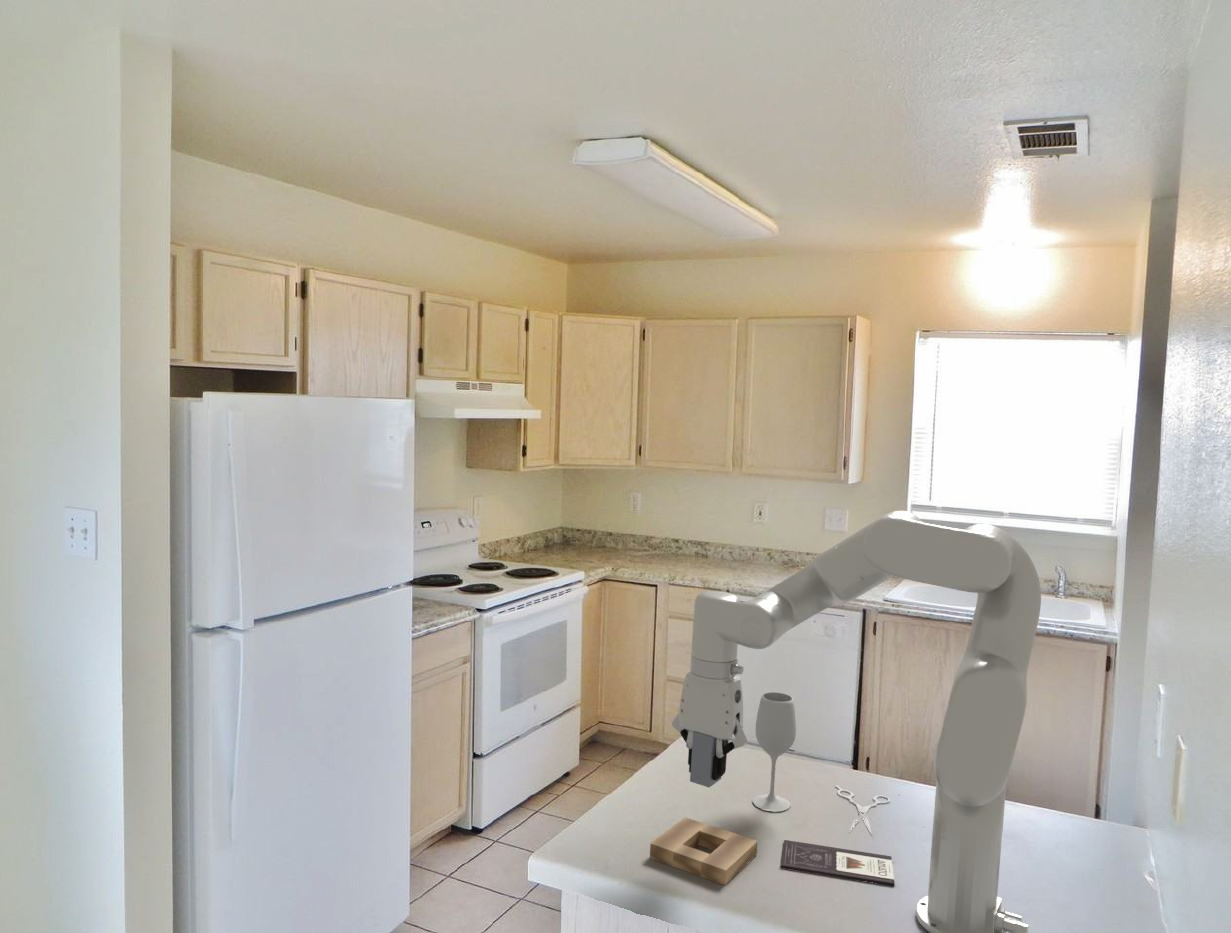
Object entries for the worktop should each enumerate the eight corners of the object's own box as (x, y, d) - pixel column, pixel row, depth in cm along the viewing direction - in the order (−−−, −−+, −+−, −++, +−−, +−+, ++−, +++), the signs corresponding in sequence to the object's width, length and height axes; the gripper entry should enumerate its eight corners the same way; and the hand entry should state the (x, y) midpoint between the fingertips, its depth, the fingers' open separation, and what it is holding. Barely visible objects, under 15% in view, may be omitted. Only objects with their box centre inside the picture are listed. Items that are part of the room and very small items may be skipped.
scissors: (889, 793, 178) (891, 837, 159) (889, 796, 178) (891, 842, 159) (835, 784, 181) (830, 827, 162) (835, 788, 181) (830, 831, 162)
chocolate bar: (784, 839, 156) (891, 856, 152) (783, 844, 156) (890, 861, 152) (781, 865, 147) (894, 883, 143) (780, 870, 147) (894, 889, 143)
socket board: (756, 855, 151) (757, 840, 151) (725, 885, 141) (726, 870, 141) (684, 830, 159) (685, 816, 159) (649, 857, 149) (650, 843, 149)
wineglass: (743, 798, 173) (749, 692, 172) (776, 792, 176) (782, 688, 175) (766, 815, 166) (772, 705, 165) (799, 809, 169) (805, 701, 168)
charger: (721, 778, 150) (724, 728, 149) (709, 787, 146) (712, 736, 146) (702, 772, 152) (705, 723, 151) (689, 781, 148) (693, 730, 148)
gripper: (768, 672, 146) (761, 780, 148) (680, 651, 155) (674, 753, 157) (749, 683, 140) (741, 795, 141) (658, 661, 149) (652, 767, 151)
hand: (706, 772), depth 149 cm, fingers closed on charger, 3 cm apart
